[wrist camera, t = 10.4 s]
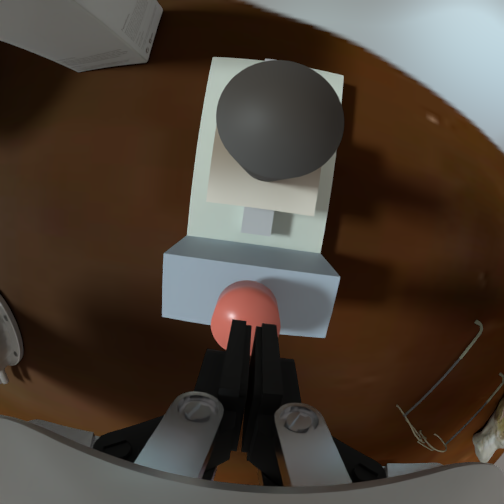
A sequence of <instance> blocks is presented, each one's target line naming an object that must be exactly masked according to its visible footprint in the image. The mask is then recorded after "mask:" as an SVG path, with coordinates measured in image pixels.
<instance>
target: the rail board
mask: <svg viewBox="0 0 504 504" xmlns="http://www.w3.org/2000/svg"><path fill="white" fill-rule="evenodd" d="M271 60H273V59H265V61H271ZM260 62H264V61H261V60H252V59H240V58H226V57H213V58H212V63H211V68H210V73H209V78H208V84H207V89H206V94H205V100H204V106H203V112H202V118H201V124H200V131H199V137H198V144H197V151H196V158H195V166H194V174H193V182H192V191H191V200H190V209H189V219H188V230H187V236H186V237H184V238H183V239H182V240H180V241H179V242H178V243H176V244H175V245H174V246H173V247H171V248H170V249H169V250H167V251H166V252H165V253H164V260H163V286H162V317H166V318H172V319H177V320H183V321H188V322H194V323H201V324H207V325H211V319H212V316H213V313H214V310H215V307H216V304H217V301H218V298H219V296H220V294H221V292H222V291H223V290H224V289H225V288H226V287H227V286H229V285H230V284H232V283H235V282H238V281H243V280H250V281H256V282H259V283H261V284H263V285H265V286H266V287H267V288H269V289H270V290H271V291H272V293H273V294H274V296H275V298H276V300H277V305H278V311H279V317H280V325H281V328H280V333H279V334H285V335H295V336H307V337H319V338H325V336H326V332H327V329H328V325H329V321H330V317H331V314H332V310H333V306H334V302H335V298H336V294H337V290H338V285H339V281H340V276H339V275H338V273H337V272H336V271H335V270H334V269H333V268H332V266H331V265H330V264H329V263H328V262H327V260H326V259H325V258H324V257H323V256H322V255H321V254H320V253H321V248H322V242H323V237H324V231H325V225H326V219H327V213H328V207H329V201H330V194H331V188H332V181H333V174H334V166H335V159H336V152H335V153H334V154H333V156H332V157H331V158H330V159H329V160H328V161H327V162H326V163H325V164H324V165H323V166H321V173H320V180H319V187H318V194H317V201H316V207H315V213H314V217H313V216H307V215H300V214H294V213H287V212H280V211H273V210H266V209H259V208H252V207H244V206H236V205H229V204H220V203H212V202H206V198H207V190H208V182H209V174H210V166H211V159H212V151H213V144H214V137H215V131H216V111H217V105H218V101H219V98H220V96H221V93H222V92H223V90H224V88H225V86H226V85H227V84H228V83H229V81H230V80H231V79H232V78H233V77H234V76H235V75H236V74H238V73H239V72H240V71H242V70H244V69H245V68H247V67H249V66H251V65H254V64H256V63H260ZM311 69H312V68H311ZM312 70H314V71H316V72H317V73H319V74H320V75H321V76H322V77H323V78H325V79H326V80H327V81H328V83H329V84H330V85H331V86H332V87H333V89H334V90H335V92H336V94H337V95H338V97H339V100H340V102H341V104H342V92H343V78H344V76H343V75H339V74H335V73H330V72H326V71H322V70H317V69H312ZM336 151H337V150H336Z"/></svg>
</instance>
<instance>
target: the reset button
mask: <svg viewBox="0 0 504 504" xmlns="http://www.w3.org/2000/svg"><path fill="white" fill-rule="evenodd" d="M232 319H235V320H242V321H247V322H246V325H252V330H251V345H250V356H251V354H252V347H253V341H254V335H255V329H256V326H259V327H261V326H262V323H265V324H274V325H277V334H278V336H279V333H280V328H281V325H280V317H279V311H278V305H277V300H276V298H275V296H274V294H273V293H272V291H271V290H270V289H269V288H267V287H266V286H265V285H263V284H261V283H259V282H256V281H250V280H243V281H238V282H235V283H232V284H230V285H229V286H227V287H226V288H225V289H224V290H223V291H222V292H221V294H220V296H219V298H218V301H217V304H216V307H215V310H214V313H213V316H212V319H211V331H212V334H213V336H214V338H215V340H216V341H217V343H218V344H219V345H220V346H221V347H222V348H224V349H225V350H226V349H227V344H228V339H229V334H230V329H231V324H232Z"/></svg>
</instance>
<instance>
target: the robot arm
mask: <svg viewBox="0 0 504 504" xmlns="http://www.w3.org/2000/svg"><path fill="white" fill-rule="evenodd" d="M246 322H247V321H242V320H235V319H232V324H231V329H230V334H229V339H228V344H227V349H226V351H219V350H213V349H207V351H206V354H205V357H204V360H203V363H202V366H201V370H200V373H199V376H198V380H197V383H196V386H195V389H194V392H187V393H183V394H181V395H179V396H178V397H177V398H176V399H175V400H174V401H173V403H172V404H171V406H170V407H169V409H168V410H167V412H166V414H165V415H163V416H161V417H158V418H155V419H152V420H149V421H146V422H143V423H140V424H137V425H133V426H130V427H127V428H124V429H120V430H117V431H113V432H110V433H107V434H105V435H102V436H101V437H99V436H95V435H94V433H93V432H88V431H84V430H79V429H74V428H70V427H66V426H62V425H58V424H54V423H50V422H47V421H43V420H37V419H36V420H31V421H29V422H27V421H24V420H21V419H18V418H14V417H9V416H4V415H0V504H504V472H503V471H502V470H501V469H500V468H499V467H497V466H495V465H493V464H489V463H483V462H465V463H455V464H449V465H442V464H439V463H415V464H392V463H387V464H386V465H385V466H381V464H379V463H378V462H376V461H375V460H373V459H371V458H369V457H367V456H365V455H364V454H362V453H360V452H358V451H356V450H355V449H353V448H351V447H349V446H348V445H346V444H344V443H343V442H341V441H339V440H337V439H336V438H334V437H332V436H331V434H330V432H329V429H328V427H327V425H326V423H325V420H324V418H323V416H322V415H321V413H320V412H319V411H318V410H316V409H315V408H314V407H312V406H310V405H307V404H303V403H301V398H300V392H299V386H298V380H297V374H296V368H295V362H294V360H293V359H285V358H280V354H279V344H278V334H277V325H274V324H265V323H262V326H261V327H259V326H256V329H255V335H254V341H253V347H252V354H251V359H250V345H251V330H252V325H246ZM22 357H23V342H22V338H21V334H20V331H19V328H18V325H17V323H16V320H15V318H14V316H13V314H12V312H11V310H10V308H9V306H8V305H7V303H6V302H5V300H4V299H3V297H2V296H1V295H0V384H1V383H4V384H6V383H8V382H9V379H8V377H7V374H6V373H5V367H6V366H8V365H11V366H14V365H16V364H17V363H19V362H20V361H21V359H22ZM249 361H250V365H249ZM244 408H245V409H244ZM243 414H244V423H243V436H242V449H241V451H242V452H247V461H250V462H251V463H252V464H253V465H254V466H256V467H257V468H258V473H257V475H258V480H259V486H255V485H243V484H233V483H224V482H217V481H213V479H214V476H215V474H216V471H217V466H218V465H219V464H221V463H223V462H225V461H227V460H229V458H230V452H231V451H237V446H238V440H239V435H240V430H241V424H242V419H243Z"/></svg>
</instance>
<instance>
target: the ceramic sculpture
mask: <svg viewBox="0 0 504 504" xmlns="http://www.w3.org/2000/svg"><path fill="white" fill-rule="evenodd" d="M473 443H474V445H475V453H476V455H477V457H478V459H479V460H480V462H483V463H487V462H488V460H489V459H490V458H491V457H492V455H493V453H494V452H495V451H496V450H497V449H498V448H504V397H503V398H502V399H501V401H500V402H499V404H498V407H497V409H496V410H495V412H494V413H493V415H492V416H491V418H490V419H489V421H488V423H487V425H486V426H485V427H484V429H483V430H482V431H481V432H479V433H476V434H474V436H473Z"/></svg>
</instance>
